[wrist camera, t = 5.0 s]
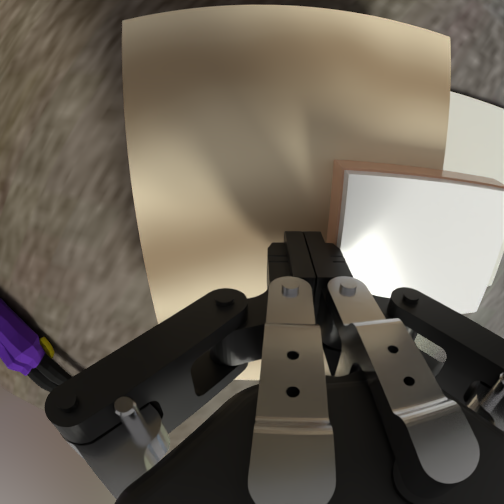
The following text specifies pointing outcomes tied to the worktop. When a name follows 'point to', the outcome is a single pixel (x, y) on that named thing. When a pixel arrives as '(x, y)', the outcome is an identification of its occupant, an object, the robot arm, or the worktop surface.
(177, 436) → the worktop surface
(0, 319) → the toy
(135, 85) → the block
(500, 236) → the tile
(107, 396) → the robot arm
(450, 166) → the mat
